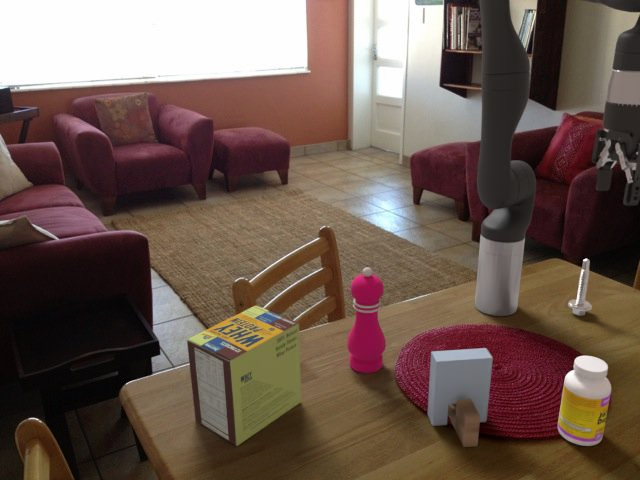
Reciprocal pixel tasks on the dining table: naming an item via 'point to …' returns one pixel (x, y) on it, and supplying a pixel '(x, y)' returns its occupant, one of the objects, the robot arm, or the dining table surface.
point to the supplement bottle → (585, 402)
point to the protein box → (245, 373)
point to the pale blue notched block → (458, 381)
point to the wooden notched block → (465, 421)
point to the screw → (581, 292)
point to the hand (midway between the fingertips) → (615, 197)
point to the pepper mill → (366, 324)
